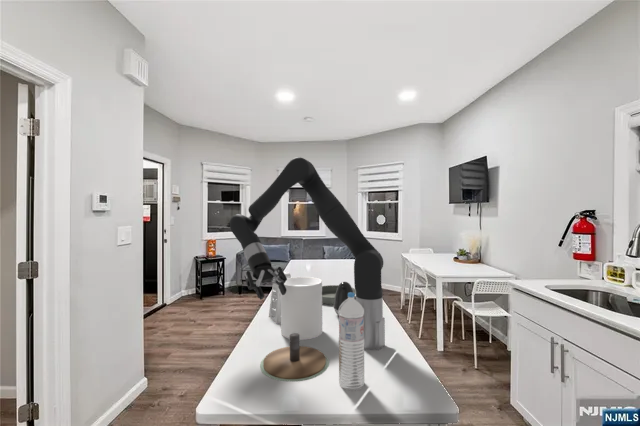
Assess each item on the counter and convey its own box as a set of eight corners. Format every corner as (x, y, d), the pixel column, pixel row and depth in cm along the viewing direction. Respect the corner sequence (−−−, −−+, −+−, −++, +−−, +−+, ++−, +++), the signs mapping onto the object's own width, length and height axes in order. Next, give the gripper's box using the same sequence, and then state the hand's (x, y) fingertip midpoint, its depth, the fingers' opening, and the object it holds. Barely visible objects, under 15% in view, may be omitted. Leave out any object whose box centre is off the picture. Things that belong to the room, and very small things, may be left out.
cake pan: (306, 295, 176) (306, 287, 176) (346, 291, 184) (346, 283, 183) (319, 307, 153) (318, 298, 153) (364, 303, 160) (364, 294, 160)
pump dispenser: (331, 318, 137) (331, 283, 137) (335, 311, 147) (335, 278, 147) (354, 320, 134) (354, 285, 134) (357, 312, 144) (357, 279, 144)
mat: (340, 358, 100) (340, 356, 100) (304, 391, 82) (304, 389, 82) (287, 344, 110) (287, 342, 110) (245, 371, 92) (245, 369, 92)
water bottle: (348, 376, 89) (347, 288, 89) (369, 384, 85) (368, 292, 85) (333, 386, 84) (333, 293, 84) (355, 396, 79) (354, 298, 79)
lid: (336, 357, 99) (336, 330, 99) (303, 386, 83) (303, 354, 83) (287, 344, 109) (287, 320, 109) (250, 368, 93) (249, 340, 93)
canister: (326, 327, 127) (326, 278, 126) (315, 343, 111) (315, 287, 111) (289, 323, 131) (289, 276, 131) (274, 338, 116) (273, 284, 115)
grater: (277, 324, 131) (276, 276, 131) (268, 316, 140) (268, 272, 140) (299, 319, 136) (299, 273, 136) (290, 312, 145) (290, 269, 145)
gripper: (242, 253, 108) (258, 293, 99) (277, 249, 117) (295, 286, 108) (235, 266, 112) (250, 306, 103) (270, 262, 121) (287, 298, 112)
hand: (273, 295), depth 105 cm, fingers open, 8 cm apart
